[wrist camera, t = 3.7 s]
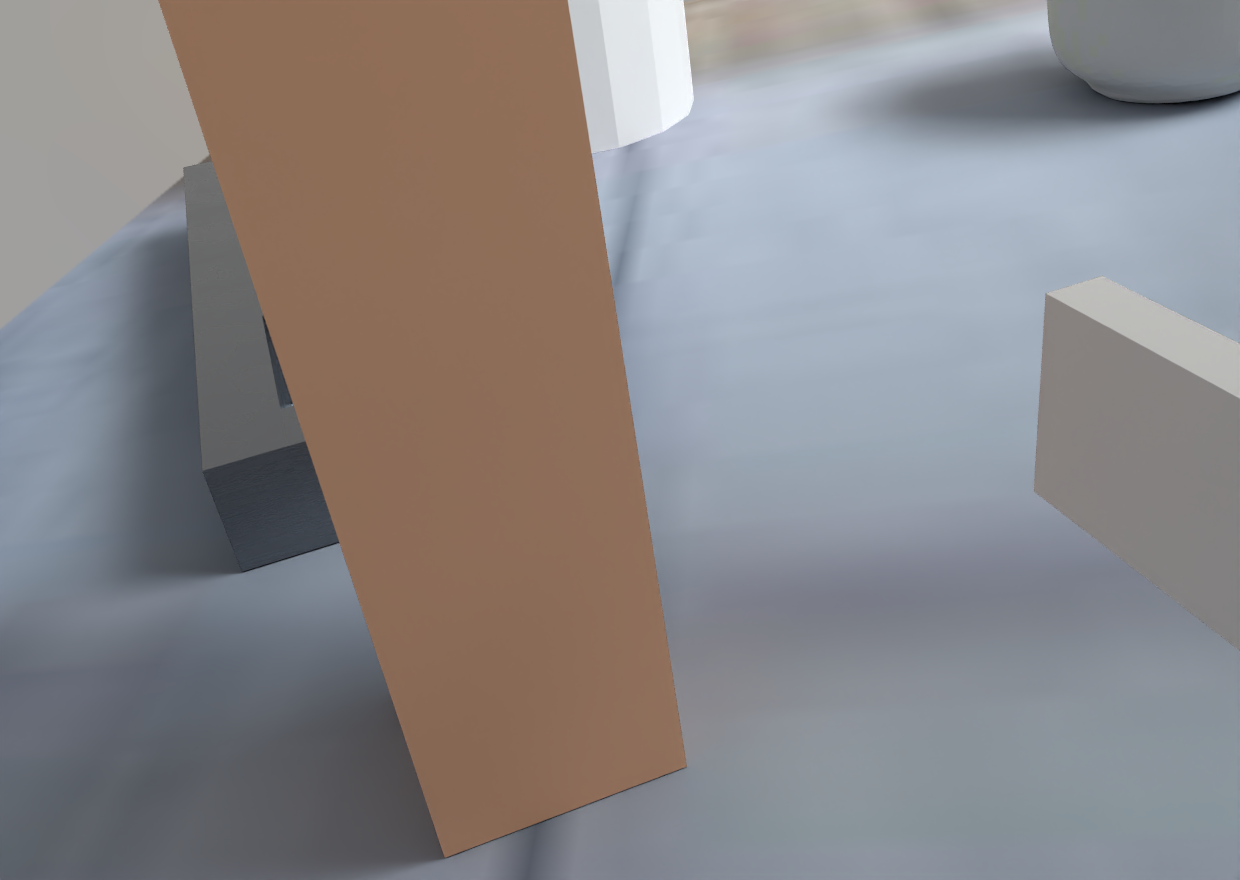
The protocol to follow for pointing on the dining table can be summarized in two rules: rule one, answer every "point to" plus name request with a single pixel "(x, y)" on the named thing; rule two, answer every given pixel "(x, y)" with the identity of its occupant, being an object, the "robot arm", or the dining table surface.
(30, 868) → the dining table surface
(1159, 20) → the teacup
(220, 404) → the rail
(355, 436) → the post
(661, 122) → the container
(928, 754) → the dining table surface
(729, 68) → the dining table surface
